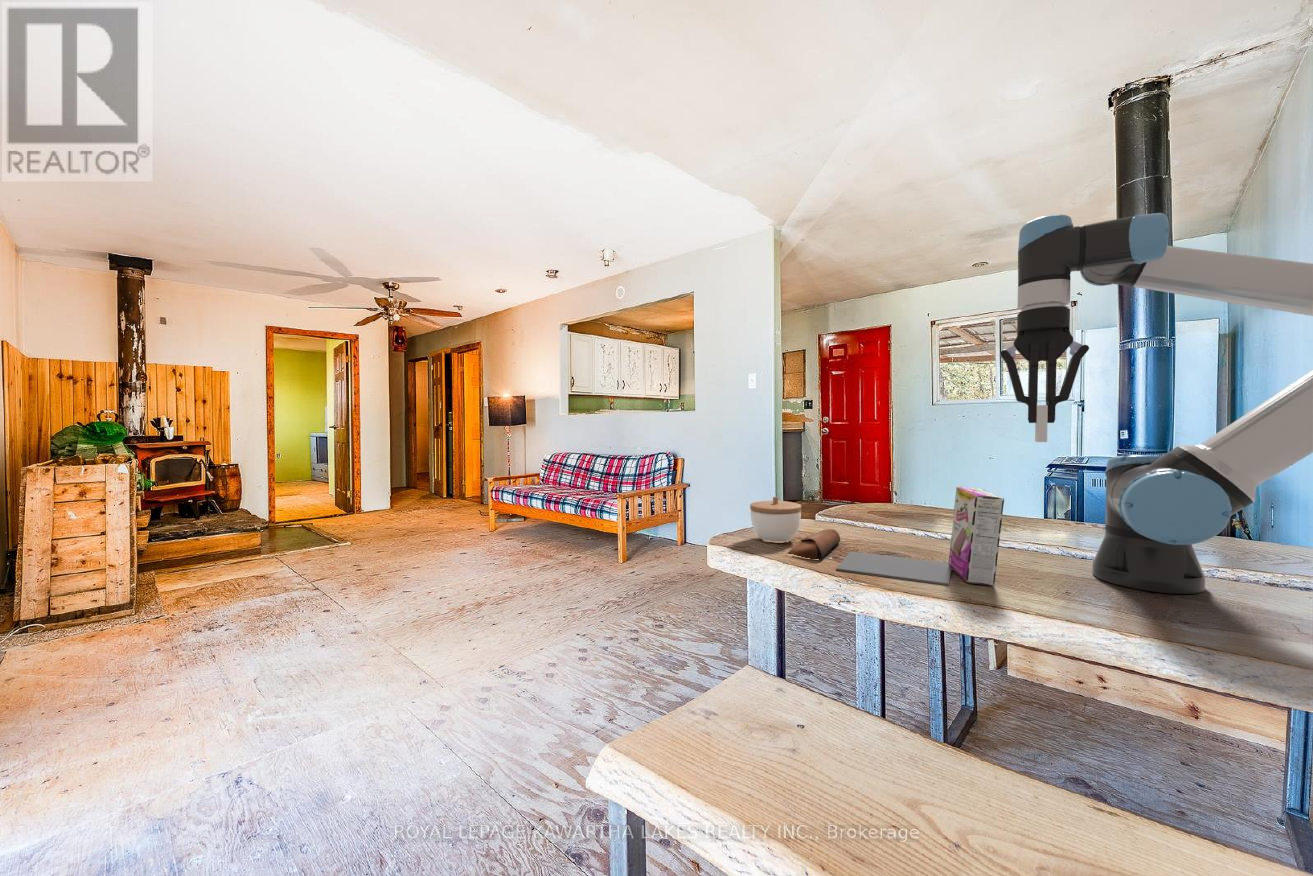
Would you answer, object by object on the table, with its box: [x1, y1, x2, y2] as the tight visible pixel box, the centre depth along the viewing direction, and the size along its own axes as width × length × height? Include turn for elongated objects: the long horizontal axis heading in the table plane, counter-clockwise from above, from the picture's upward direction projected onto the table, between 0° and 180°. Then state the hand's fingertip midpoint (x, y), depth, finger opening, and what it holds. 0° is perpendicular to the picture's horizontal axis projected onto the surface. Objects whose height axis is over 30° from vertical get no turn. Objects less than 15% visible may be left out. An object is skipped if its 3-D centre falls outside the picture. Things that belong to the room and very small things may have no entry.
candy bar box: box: [947, 486, 1005, 587], centre depth 100 cm, size 11×5×16 cm, turn 167°
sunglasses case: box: [787, 528, 841, 561], centre depth 122 cm, size 18×7×7 cm
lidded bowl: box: [749, 496, 802, 541], centre depth 132 cm, size 13×13×11 cm
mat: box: [835, 551, 952, 587], centre depth 107 cm, size 20×15×1 cm
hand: (1040, 441), depth 93 cm, fingers closed
